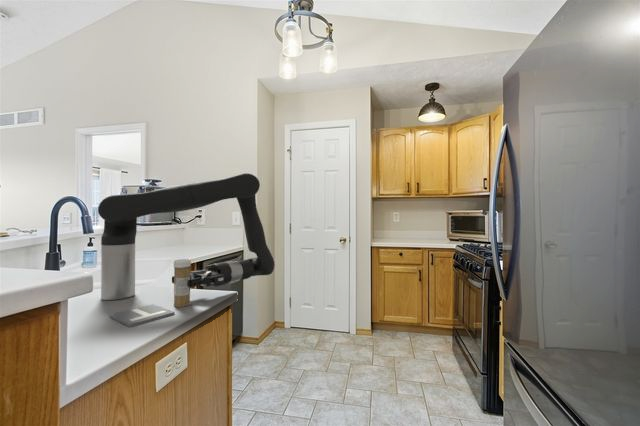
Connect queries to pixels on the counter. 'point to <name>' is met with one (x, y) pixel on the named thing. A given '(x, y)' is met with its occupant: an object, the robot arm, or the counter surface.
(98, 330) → the counter surface
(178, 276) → the spice jar
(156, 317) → the letter mat
